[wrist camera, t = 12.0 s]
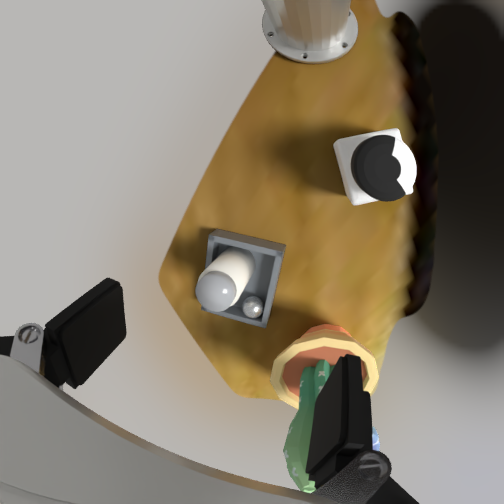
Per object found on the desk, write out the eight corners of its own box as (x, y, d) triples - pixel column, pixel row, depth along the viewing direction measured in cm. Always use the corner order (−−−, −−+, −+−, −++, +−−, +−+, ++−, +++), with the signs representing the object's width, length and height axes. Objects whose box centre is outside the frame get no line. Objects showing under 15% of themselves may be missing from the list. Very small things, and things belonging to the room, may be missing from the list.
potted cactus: (368, 377, 42) (375, 506, 19) (282, 380, 46) (249, 504, 24) (376, 302, 38) (409, 450, 15) (273, 307, 42) (220, 449, 19)
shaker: (222, 241, 40) (193, 267, 30) (258, 250, 39) (239, 279, 30) (218, 274, 41) (190, 307, 32) (252, 283, 41) (233, 319, 31)
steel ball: (246, 289, 41) (241, 300, 38) (268, 295, 41) (263, 306, 38) (243, 307, 42) (237, 318, 40) (264, 313, 42) (259, 324, 39)
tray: (216, 228, 40) (208, 234, 37) (286, 244, 38) (283, 252, 36) (208, 300, 44) (201, 309, 42) (269, 317, 43) (265, 328, 40)
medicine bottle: (346, 197, 34) (358, 216, 23) (332, 143, 32) (338, 136, 21) (397, 186, 32) (430, 201, 21) (384, 132, 30) (413, 122, 19)
